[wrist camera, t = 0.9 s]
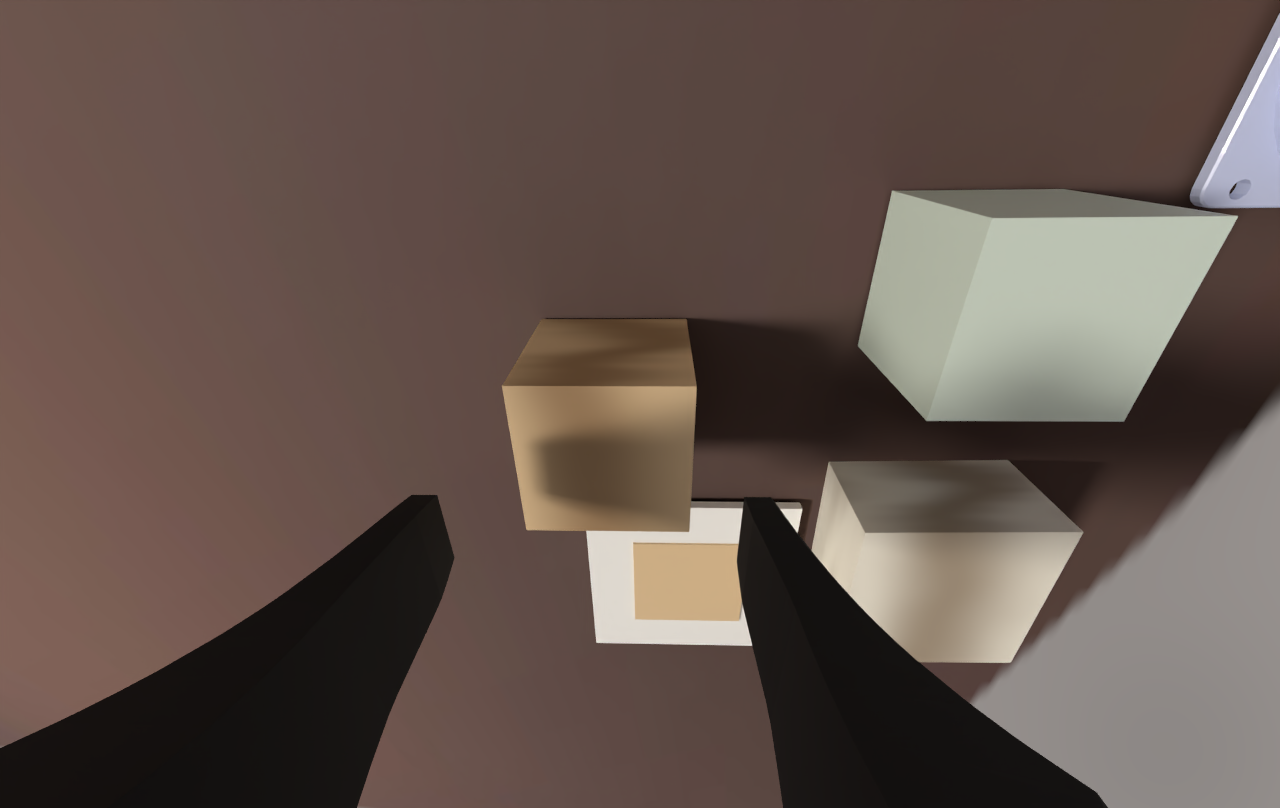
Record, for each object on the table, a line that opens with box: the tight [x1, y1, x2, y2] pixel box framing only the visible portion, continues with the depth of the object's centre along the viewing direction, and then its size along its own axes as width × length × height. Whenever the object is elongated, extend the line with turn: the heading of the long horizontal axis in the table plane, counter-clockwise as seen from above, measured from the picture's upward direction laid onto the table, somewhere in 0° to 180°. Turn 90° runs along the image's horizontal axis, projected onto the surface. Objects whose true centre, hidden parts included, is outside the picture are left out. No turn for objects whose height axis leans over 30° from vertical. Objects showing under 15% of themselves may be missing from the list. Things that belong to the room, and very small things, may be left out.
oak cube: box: [502, 319, 697, 532], centre depth 16 cm, size 5×5×5 cm
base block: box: [812, 460, 1083, 663], centre depth 20 cm, size 7×7×4 cm
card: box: [587, 501, 802, 646], centre depth 23 cm, size 9×9×1 cm
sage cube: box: [858, 189, 1238, 422], centre depth 14 cm, size 5×5×5 cm
